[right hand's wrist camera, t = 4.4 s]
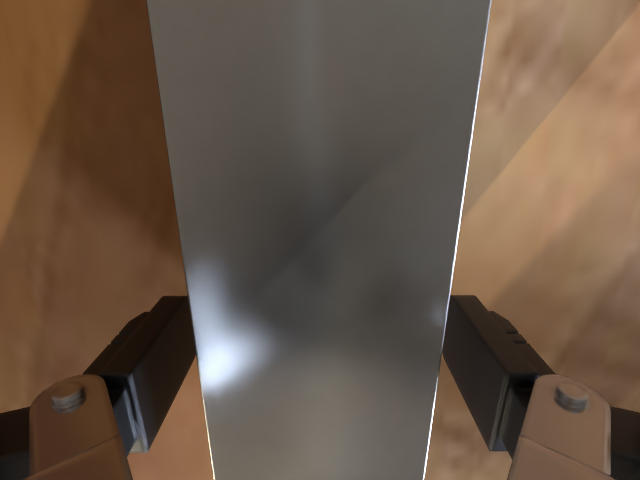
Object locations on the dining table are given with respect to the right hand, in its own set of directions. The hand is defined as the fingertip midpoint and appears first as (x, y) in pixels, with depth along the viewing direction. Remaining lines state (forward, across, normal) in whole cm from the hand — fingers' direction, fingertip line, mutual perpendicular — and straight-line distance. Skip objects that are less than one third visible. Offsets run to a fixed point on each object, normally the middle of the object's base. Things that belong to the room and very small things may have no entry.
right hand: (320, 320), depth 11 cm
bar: (+5, 0, +9) cm, 11 cm away
